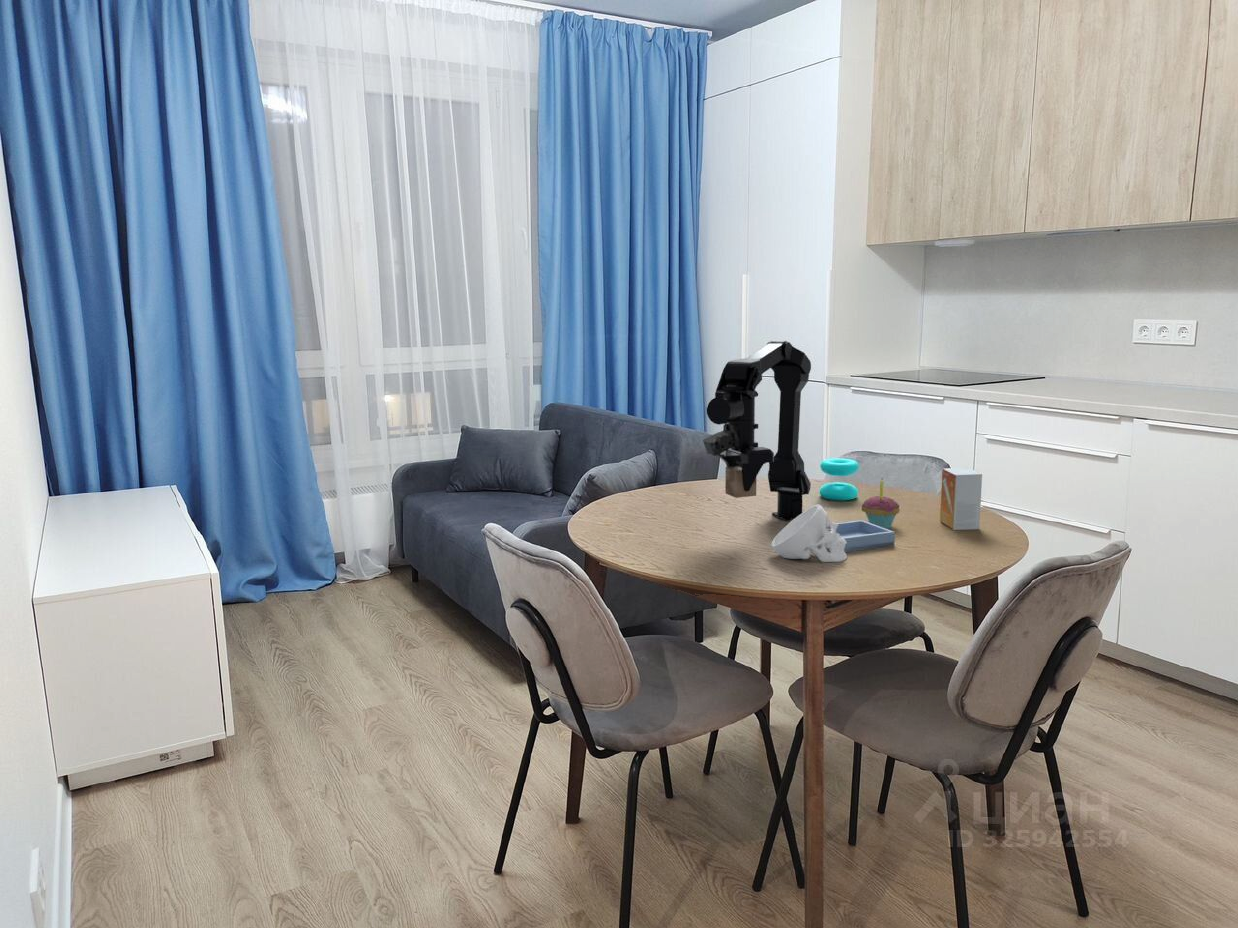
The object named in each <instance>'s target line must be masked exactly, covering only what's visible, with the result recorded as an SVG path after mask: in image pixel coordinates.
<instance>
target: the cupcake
mask: <svg viewBox="0 0 1238 928" xmlns="http://www.w3.org/2000/svg"><path fill="white" fill-rule="evenodd" d="M883 479H884V478H883V477H882V478H881V480H880V482H879V483H880V484H879V495H876V496H872V497H870V498H868V499H865V500H864V501H863V502H862V504H861V511H862V512H864V513H865V514H866V517H867V519H868V520H867V521H868V522H869V523H872V524H875V525H877V526H880V527H883V528H885V529H888V530H889V529H890V528H891V527H892V525H893V522H894V519H895V517H896V516H897V515H898V514H899V513H900V511H901V510H900V504H899V503H898V502H897V501H896V500H894V499H893V498H890V497H887V496H883V494H884V481H883Z"/></svg>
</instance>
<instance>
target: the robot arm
mask: <svg viewBox="0 0 1238 928" xmlns="http://www.w3.org/2000/svg"><path fill="white" fill-rule="evenodd" d="M770 369H771V371H772V372H773V380H774V382H775V385H776V386H777V388H778V390H779V392H780V393H779V394H780V395H779V413H778V414H779V415H778V416H779V417H778V434H777V435H778V437H777V438H778V439H777V451H776V452H774V451H773V450H772V449H771V448H768V447H765V446H764V447H763V446H759V442H758V441H755V430H757V429H759V424H758V423H756V422H755V417H756V416H755V412H756V411H755V410H756V409H755V407H756V403H755V402H756V401H755V399H756V398H757V397H759V393H758V391H756V388H757V386H758V385H759V384H760V383H761V381H762V380H763V374H764V373H766V372H768V371H769V370H770ZM811 370H812V363H811V360H810V359H809V357H808V356H807V355H806V353H805V352H804V351H802V350H800V349H798V348H796V347H795V346H794V345H792V343H791V342H790V341H787V340H770V341H768V342H767V343H766V345H764V346H763V347H762V348H760V349H758V350H757V351H755V352H754V353H752V354H751V355H749V356H748V357H746V358H738V359H737V358H736V359H734V360H733V359H732V360H730V361H728V362H727V363H726V364H725V365H724V367H723V368H722V372H721V374H720V375H721V376H720V378H719V380H718V384H717V386H716V390H715V393H714V398H712V399H711V400H709V402H708V404H707V407H706V415H707V417H708V419H709V421H711V423H713V424H714V425H723V430H721V431H720V432H719V431H718V432H716V433H714V434H712V435H710V436H708V437H705V438H704V439H702V441H703V442H702V443H703V445H704V447H705V451H706V453H707V454H708V455H711V456H714V457H715V456H716V457H718V458H720V459H721V460H722V461H723V462H724V463H725V467H731V466H740V467H741V468H742V477H743V486H744V491H749V490H750V488H751V486H752V484H753V482H754V480H755V478H756V479H757V476H758V475H759V473H760V471H761V469H762V467H763V466H764V465H765V464H768V473H767V479H768V485H769V491H770V492H771V493H777V511H776V512H773V511H772V512H771V515H772V516H775V517H776V518H778V519H782V520H784V521H790V520H793V519H795V518H796V517H797V516H799V515H800V514H801V513H803V496H805V495H809V494H810V492H811V481H810V479H809V478H808V476H807V473H806V471H805V462H804V460H803V458H802V456H801V455H800V453H799V439H800V438H799V437H800V436H799V435H800V417H801V400H802V399H801V398H802V397H801V396H802V395H801V394H802V391H803V389H804V388H805V386H806V385H807V383H808V382H809V378H810V377H809V376H810V373H811Z"/></svg>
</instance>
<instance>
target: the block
mask: <svg viewBox="0 0 1238 928" xmlns="http://www.w3.org/2000/svg"><path fill="white" fill-rule="evenodd" d="M725 494H726V495H729V496H730V497H734V498H736V499H737V498H749V497H756V496H757V477H756V478H755V480H754V482H753V484H752V486H751V488H750V490H749V491H744V486H743V477H742V468H741V467H740V466H731V467H727V466H725Z"/></svg>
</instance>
